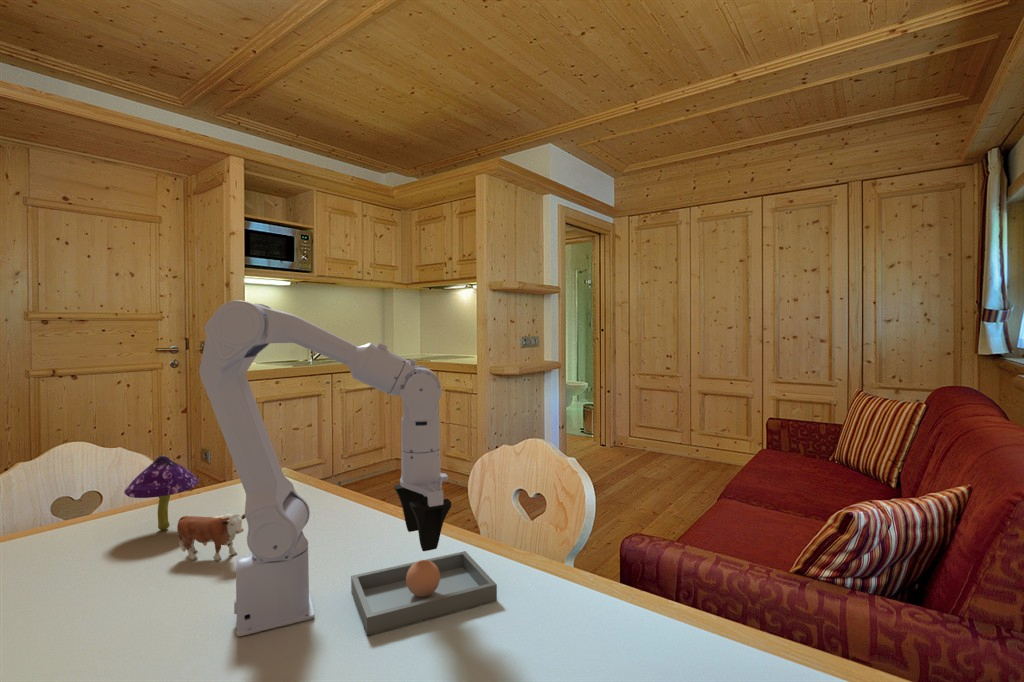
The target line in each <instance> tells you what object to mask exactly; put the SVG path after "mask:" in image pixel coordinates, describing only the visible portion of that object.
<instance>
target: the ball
mask: <svg viewBox="0 0 1024 682" xmlns="http://www.w3.org/2000/svg"><path fill="white" fill-rule="evenodd" d="M415 562H416V563H414V564H413V565H412V566H411V567H410V568H409V570H408V572H407V576H406V583H407V587H408V589H409V590H410V592H411V593H412V594H414V595H416V596H419V597H425V596H428V595H430V594H432V593H433V592H434V591H435V590H436V589H437V587H438V585H439V582H440V572H439V569H438V568H437V566H436V565H435V564H434V563H433V562H431V561H429V560H426V559H420V560H418V561H417V560H416V561H415Z"/></svg>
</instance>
